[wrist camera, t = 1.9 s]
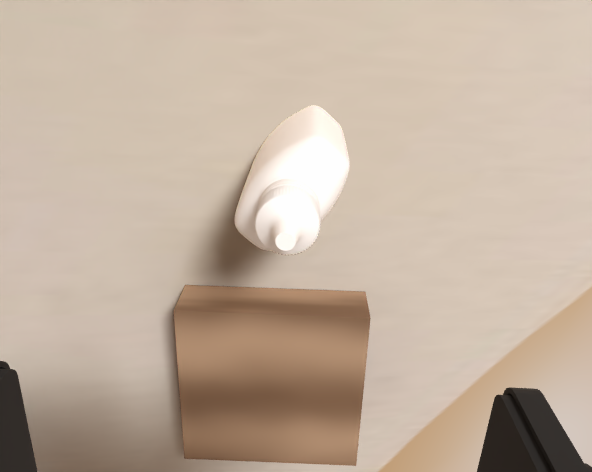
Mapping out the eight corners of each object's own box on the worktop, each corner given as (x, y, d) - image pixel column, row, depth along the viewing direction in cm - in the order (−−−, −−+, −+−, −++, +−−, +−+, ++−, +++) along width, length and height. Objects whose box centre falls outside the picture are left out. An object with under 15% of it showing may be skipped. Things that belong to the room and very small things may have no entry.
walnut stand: (185, 285, 32) (173, 310, 30) (365, 291, 32) (370, 318, 30) (193, 424, 37) (184, 458, 34) (352, 431, 37) (355, 465, 34)
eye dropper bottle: (356, 172, 29) (382, 272, 18) (261, 203, 30) (232, 316, 19) (332, 96, 28) (345, 155, 17) (232, 131, 29) (183, 209, 18)
